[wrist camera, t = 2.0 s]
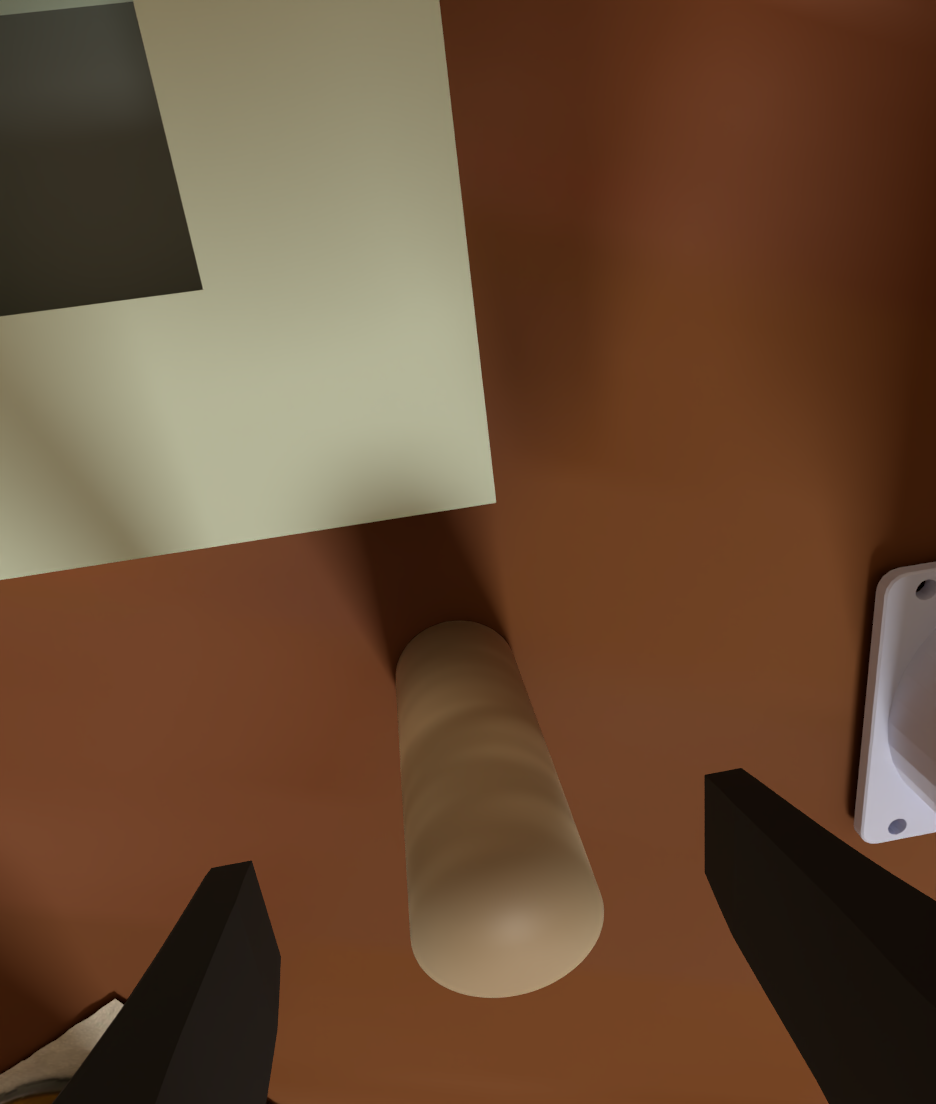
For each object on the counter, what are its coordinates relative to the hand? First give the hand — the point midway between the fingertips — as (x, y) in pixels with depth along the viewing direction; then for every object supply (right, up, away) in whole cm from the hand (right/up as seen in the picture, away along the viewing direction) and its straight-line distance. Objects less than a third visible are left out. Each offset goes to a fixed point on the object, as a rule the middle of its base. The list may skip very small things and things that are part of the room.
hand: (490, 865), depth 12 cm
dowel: (-1, +2, +5) cm, 6 cm away
